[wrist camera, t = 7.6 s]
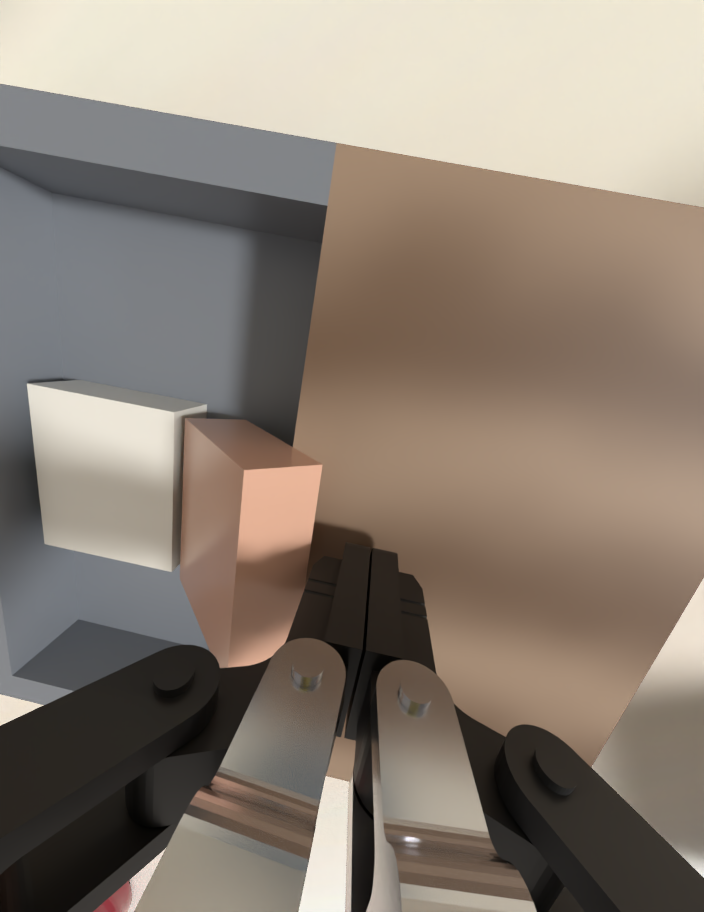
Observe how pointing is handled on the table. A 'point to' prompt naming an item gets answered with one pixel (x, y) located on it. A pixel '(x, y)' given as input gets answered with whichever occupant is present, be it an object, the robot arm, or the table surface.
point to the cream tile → (111, 469)
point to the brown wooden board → (512, 426)
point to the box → (137, 334)
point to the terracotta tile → (245, 535)
